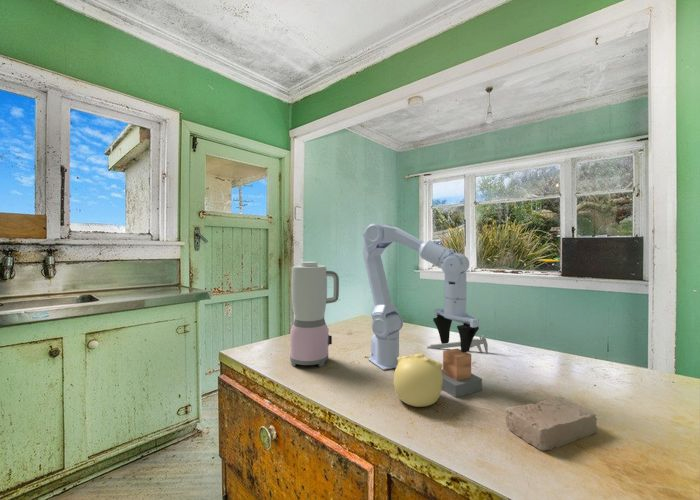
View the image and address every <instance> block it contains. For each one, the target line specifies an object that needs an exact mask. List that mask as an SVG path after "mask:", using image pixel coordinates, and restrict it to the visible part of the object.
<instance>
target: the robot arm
mask: <svg viewBox="0 0 700 500" xmlns="http://www.w3.org/2000/svg"><path fill="white" fill-rule="evenodd" d="M362 235H363V236H362V237H363V241H364V242H363V248H362V249H363V250H362V255H363V260H364V265H365V270H366V273H367V278H368V281H369V282H368V283H369V286H370V291H371V294H372V299H373V302H374V309H373V311H372V313H371V319H372V320H371V330H372V332H373V335H371V339H370V357H369V358H368V361H369V362H371V363H372V364H374V365H376V367H377V368H378V367H379V368H380V369H381V370H382V371H386V370H390V369H394V368H395V369H396V367H397V365H398V361H397V358H398V357H400V330H402V328H403V326H404V320H403V318H402V316H401V314H400V313H399V311H398V307H396V306H395V304H393V303H392V299H391V295H390V293H391V292H390V289H389V285H388V280H387V277H386V272H385V268H384V264H383V260H382V254H383V253H384V251H385V250H386V249H387V248H388V247H389V246H390V245H392V244H393V243H396V242H397V243H399V244H401V245H403V246H406V247H407V248H410V249H412V250H414V251H416V252H419V253H418V254H419V256H420V258H421V259H422V260H425V261H426V262H428V263H430V264H432V265H434V266H436V267H438V268H440V269H441V271H442V272H443V273H444V283H443V284H444V285H443V286H444V288H443V291H444V293H443V295H444V296H443V297H444V299H443V301H444V302H443V305H444V306H443V308H440V307H438V308H434V311H433V312H434V316H436V317H433V322H434V324H435V327H436V330H437V331H438V335H439V339H440V344H441V343H442V344H445V343H450V342H449V341H450V332H451V326H452V323H453V322H456V323H461V324H460V325H457V326H456V328H457V331H458V334H459V342H460V343H461V346H460V350H461V352H463V353H464V352H467V353H469V352H470V349H471V348H470V346H471V343H472V340H473V339H475V338H474V337H475V336H476V334H477V332H478V330H480V328H479V327H480V326H479V324H480V323H479V319H478V318H476V317H474V316H472V315H470V314H469V313H468V312H467V281H468V280H467V271H468V270H469V268H470V260H469V259H468V257H467V256H466V255H465V254H463V253H462V252H455V249H453V248H447V247H445V246H443V245H441V244H440V241H438V240H427V241H423V240H421V239H420V238H417V237H416V236H414V235H412V234H410V233H409V232H406V231H405V230H403V229H401V228H399V227H396V226H393V225H392V224H380V223H379V224H378V223H370V224H368V226H367V227H366V228H365V230H364V232H363V233H362Z"/></svg>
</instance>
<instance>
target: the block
mask: <svg viewBox="0 0 700 500" xmlns="http://www.w3.org/2000/svg"><path fill="white" fill-rule="evenodd" d="M442 365H443V366H442V369H443V373H444V374H445V375H447V376H449V377H451V378H453V379H454V380H456V381H457V380H461V379H465V378H470V377H471V374H472V353H469V352H464V353H463V352H461V348H458V347H456V348H451V349H447V350H443V351H442Z"/></svg>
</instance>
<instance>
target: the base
mask: <svg viewBox="0 0 700 500" xmlns="http://www.w3.org/2000/svg"><path fill="white" fill-rule="evenodd" d="M441 370H442V377H443V383H442V389H441V391H442V390H443V391H444V392H446V393H447V394H449V396H453V397H454V398H456V399H457V398H459V397H463V396H466V395H470V394H473V393H478V392H480V391H483V378H482V377H480V376H478V375H476V374H473V373H471V377H470V378H465V379H461V380H457V381H456V380H454V379H453V378H451V377H449V376H447V375H445V374H444V373H443V368H441Z"/></svg>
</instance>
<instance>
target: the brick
mask: <svg viewBox="0 0 700 500" xmlns="http://www.w3.org/2000/svg"><path fill="white" fill-rule="evenodd" d="M596 416H597V415H596V413H595V412H593V411H592V410H590V409H588V408H587V407H585V406H583V405H580V404H578V403H576V402H573V401H571V400H568V399H565V398H564V397H561V396H556V397H555V396H554V397H553V398H547V399H544V400H541V401H538V402H536V403H527V404H525V405H524V404H523V405H520V404H518V405H515V406H514V405H513V406H510V407H509V406H508V407H506V408H505V416H504V417H505V424H506V427H507V428H508V430H510V431H511V432H512V433H513V434H514V435H516V436H517V437H519V438H521V439H523V441H524V442H526V443H527V444H530V445H532V446H533V447H535V448H536V449H538V450H540V451H550V450H553V449H554V448H560V447H561V446H565V445H569V444H570V443H573V442H575V441H578V440H580V439H582V438H586V437H589V436H591V435H593V434H596V433H597V432H598V426H597V417H596Z"/></svg>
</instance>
